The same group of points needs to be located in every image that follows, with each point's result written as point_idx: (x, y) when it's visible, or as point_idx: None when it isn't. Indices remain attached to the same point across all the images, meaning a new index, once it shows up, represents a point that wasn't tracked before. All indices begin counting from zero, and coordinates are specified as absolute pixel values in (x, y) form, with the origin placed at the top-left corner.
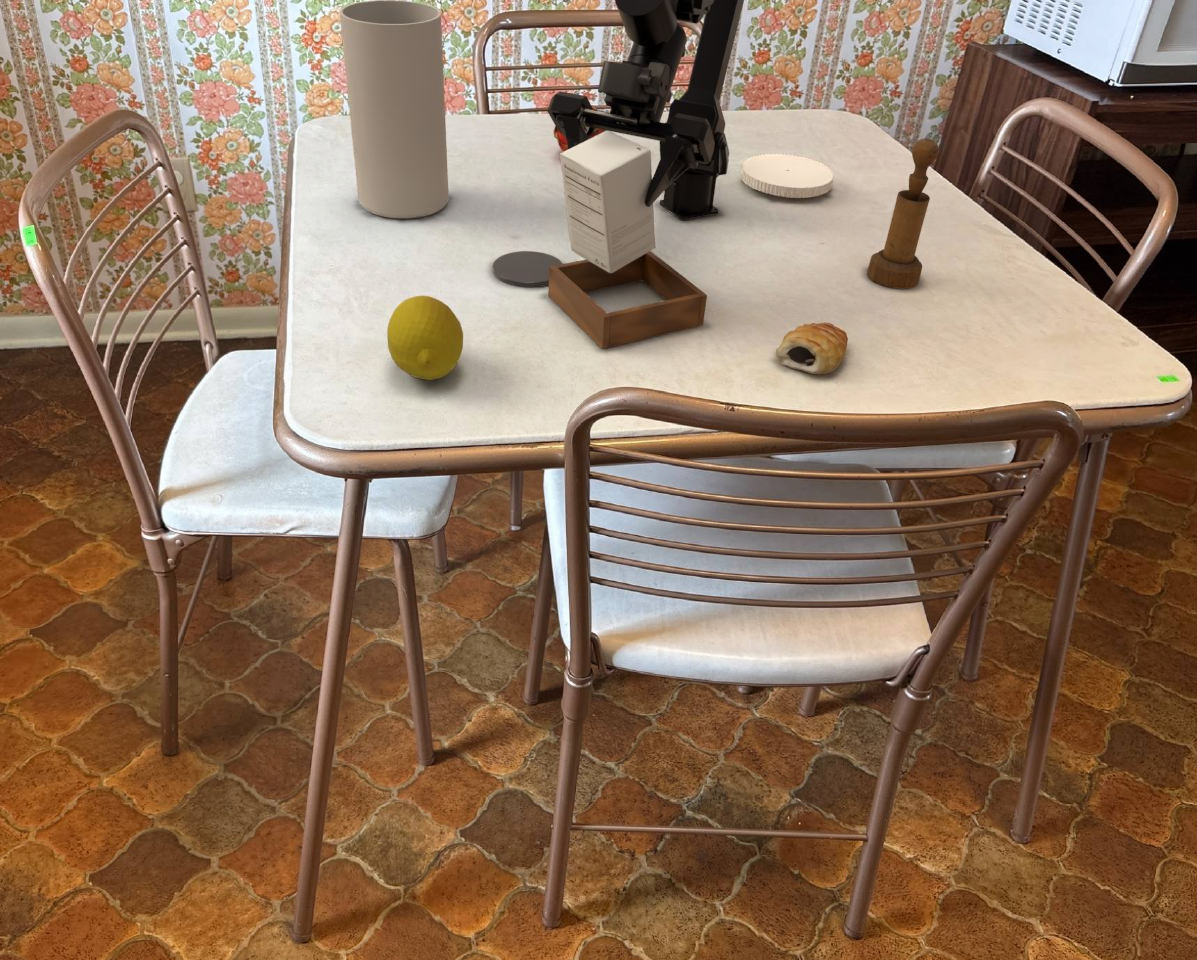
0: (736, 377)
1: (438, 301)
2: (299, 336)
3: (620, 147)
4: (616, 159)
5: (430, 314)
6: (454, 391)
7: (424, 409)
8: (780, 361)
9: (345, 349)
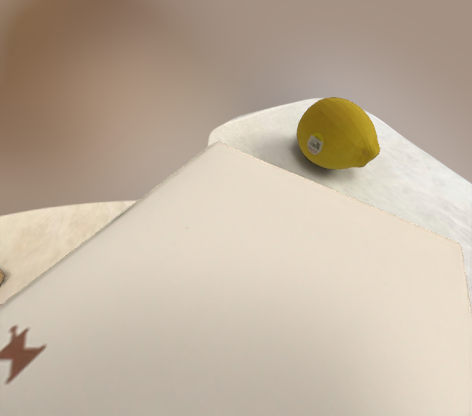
0: (64, 232)
1: (341, 120)
2: (437, 165)
3: (172, 345)
4: (178, 212)
5: (329, 100)
6: (288, 145)
7: (294, 126)
8: (2, 273)
9: (393, 162)
